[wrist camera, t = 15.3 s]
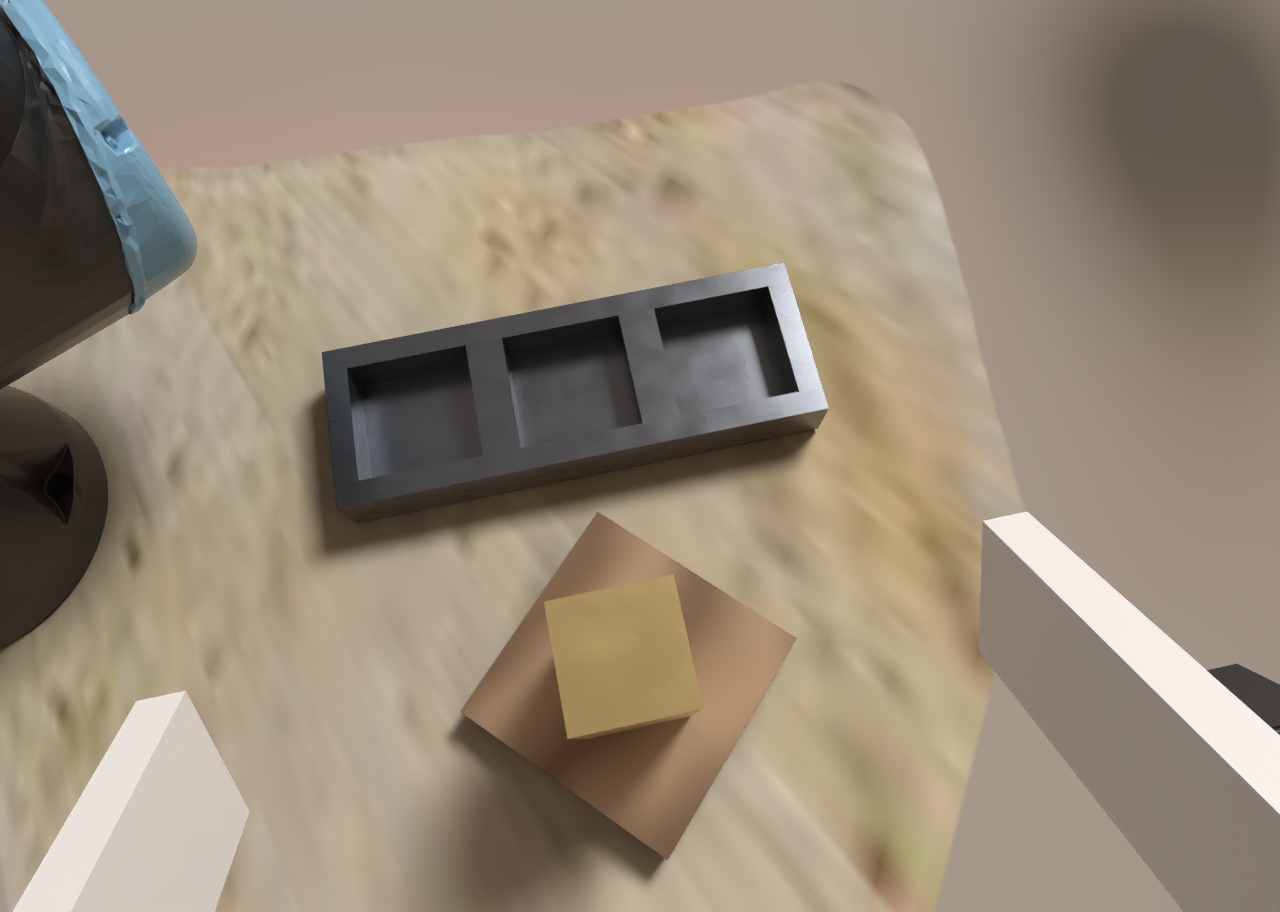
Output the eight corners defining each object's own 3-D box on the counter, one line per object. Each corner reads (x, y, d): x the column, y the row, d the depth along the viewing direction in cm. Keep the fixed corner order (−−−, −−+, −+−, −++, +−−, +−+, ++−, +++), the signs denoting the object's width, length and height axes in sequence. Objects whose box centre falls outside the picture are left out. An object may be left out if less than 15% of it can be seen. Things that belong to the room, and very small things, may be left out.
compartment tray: (356, 522, 45) (336, 508, 43) (341, 375, 48) (321, 352, 45) (818, 428, 47) (828, 408, 44) (776, 290, 50) (784, 262, 47)
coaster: (466, 712, 42) (460, 711, 41) (599, 519, 45) (597, 511, 44) (666, 855, 40) (667, 860, 38) (792, 641, 43) (796, 638, 42)
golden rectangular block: (589, 738, 40) (567, 738, 30) (571, 635, 42) (543, 601, 31) (690, 716, 40) (703, 708, 30) (668, 614, 42) (673, 574, 32)
